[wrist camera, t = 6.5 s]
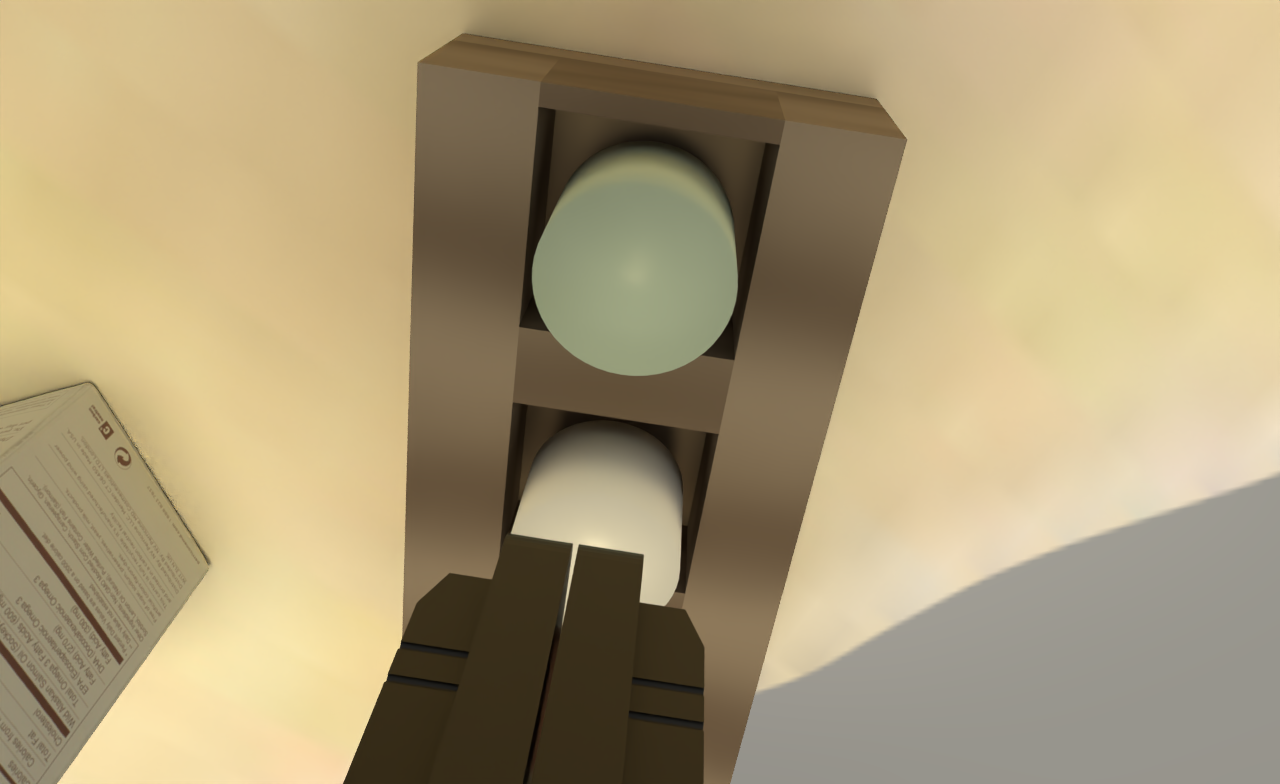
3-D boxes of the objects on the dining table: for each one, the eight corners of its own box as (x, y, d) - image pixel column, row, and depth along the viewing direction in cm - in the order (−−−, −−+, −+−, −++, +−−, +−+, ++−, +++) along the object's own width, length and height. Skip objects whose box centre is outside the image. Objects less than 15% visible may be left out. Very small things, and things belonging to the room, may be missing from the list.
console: (463, 33, 23) (417, 62, 19) (876, 99, 23) (907, 139, 19) (433, 651, 32) (399, 746, 29) (724, 696, 32) (726, 795, 29)
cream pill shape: (536, 408, 24) (513, 480, 21) (695, 433, 24) (693, 508, 21) (523, 536, 26) (500, 618, 23) (670, 559, 26) (665, 643, 23)
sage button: (564, 127, 20) (541, 167, 18) (750, 156, 20) (756, 201, 18) (547, 298, 22) (524, 359, 19) (716, 325, 22) (717, 389, 19)
